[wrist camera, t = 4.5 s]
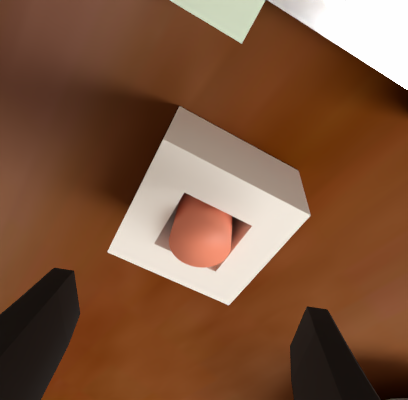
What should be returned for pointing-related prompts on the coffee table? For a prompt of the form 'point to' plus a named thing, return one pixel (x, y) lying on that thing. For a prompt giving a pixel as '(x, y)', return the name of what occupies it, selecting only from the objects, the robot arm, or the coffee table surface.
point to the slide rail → (361, 30)
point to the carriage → (225, 14)
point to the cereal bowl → (399, 399)
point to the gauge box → (217, 197)
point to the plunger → (200, 233)
